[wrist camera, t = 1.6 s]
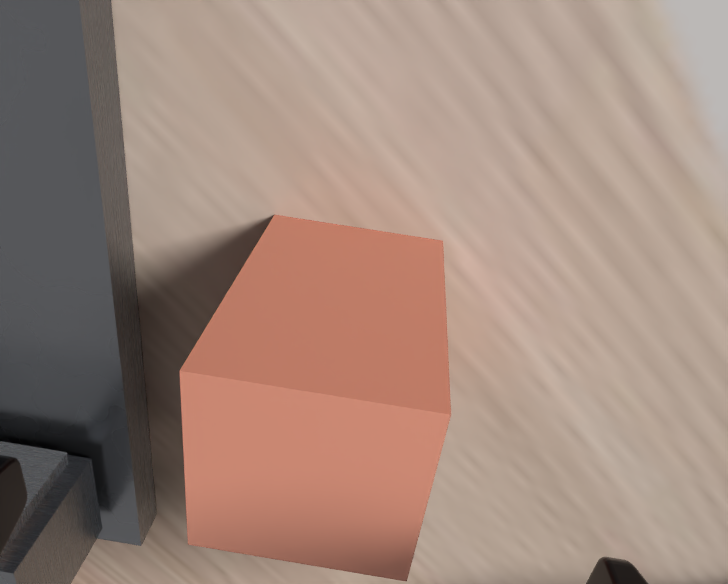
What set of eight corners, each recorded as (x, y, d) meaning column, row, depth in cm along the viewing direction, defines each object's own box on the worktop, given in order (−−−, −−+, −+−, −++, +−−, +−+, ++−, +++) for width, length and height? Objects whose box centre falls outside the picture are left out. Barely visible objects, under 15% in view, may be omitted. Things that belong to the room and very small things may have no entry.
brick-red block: (414, 374, 16) (406, 581, 10) (267, 350, 16) (188, 544, 10) (443, 240, 14) (451, 415, 8) (274, 214, 14) (178, 370, 8)
